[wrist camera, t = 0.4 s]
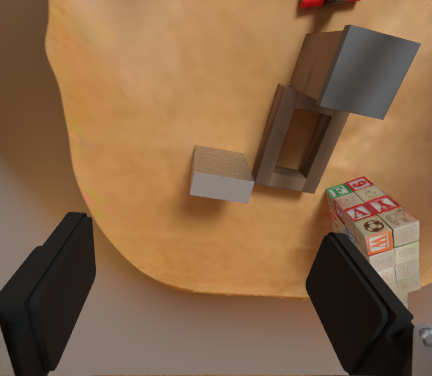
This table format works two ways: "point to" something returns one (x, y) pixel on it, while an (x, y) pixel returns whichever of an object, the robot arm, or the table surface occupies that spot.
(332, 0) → the tow hook
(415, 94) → the table surface
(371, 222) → the stack of blocks
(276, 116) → the post socket
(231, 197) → the tall grey box
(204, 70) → the table surface
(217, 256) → the table surface
